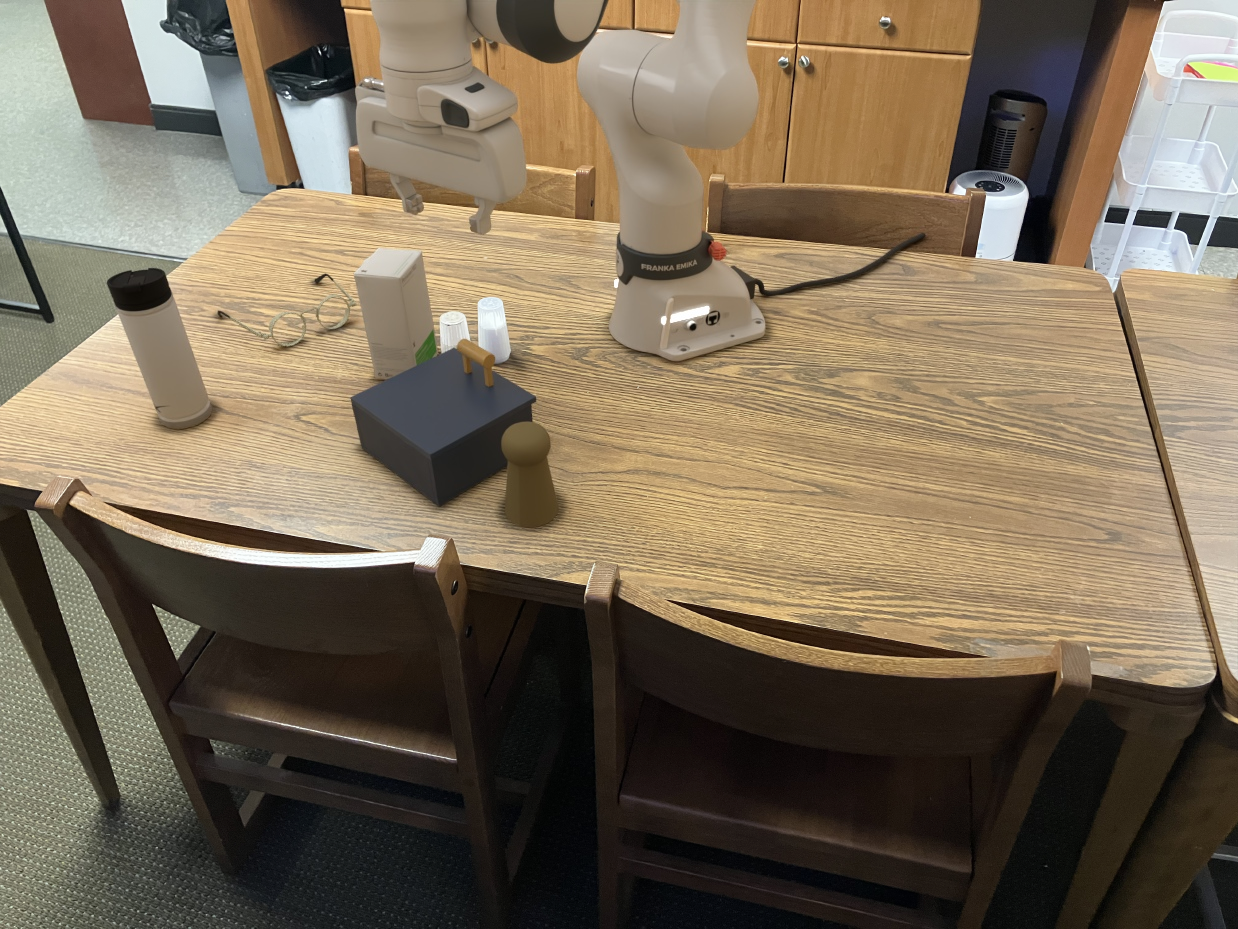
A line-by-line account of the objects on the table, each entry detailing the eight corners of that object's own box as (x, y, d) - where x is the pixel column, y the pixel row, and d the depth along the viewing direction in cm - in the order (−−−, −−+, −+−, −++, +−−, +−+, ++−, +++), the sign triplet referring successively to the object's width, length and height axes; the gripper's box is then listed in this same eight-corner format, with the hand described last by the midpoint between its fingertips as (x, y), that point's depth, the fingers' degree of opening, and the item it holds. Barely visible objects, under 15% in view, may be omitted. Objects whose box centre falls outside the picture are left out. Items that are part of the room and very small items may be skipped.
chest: (455, 399, 121) (449, 355, 116) (535, 450, 112) (531, 404, 108) (361, 448, 113) (351, 403, 108) (439, 507, 104) (431, 460, 100)
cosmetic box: (418, 385, 123) (400, 279, 113) (371, 380, 124) (349, 274, 114) (440, 352, 129) (424, 248, 120) (395, 347, 130) (376, 244, 121)
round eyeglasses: (259, 358, 128) (250, 327, 125) (214, 317, 137) (204, 286, 134) (368, 316, 137) (362, 286, 134) (319, 280, 146) (312, 250, 143)
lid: (454, 352, 117) (450, 316, 114) (536, 401, 108) (534, 364, 105) (351, 402, 108) (342, 365, 105) (431, 460, 100) (424, 421, 97)
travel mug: (157, 435, 115) (99, 290, 102) (163, 405, 120) (108, 263, 107) (211, 426, 116) (160, 282, 103) (214, 397, 121) (166, 256, 108)
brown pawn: (530, 484, 107) (523, 406, 100) (569, 506, 104) (565, 427, 97) (493, 511, 104) (483, 433, 97) (532, 535, 101) (526, 455, 94)
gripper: (331, 81, 94) (356, 210, 103) (490, 117, 85) (502, 255, 94) (375, 65, 98) (395, 191, 107) (531, 98, 90) (539, 232, 98)
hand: (447, 221), depth 100 cm, fingers open, 8 cm apart
